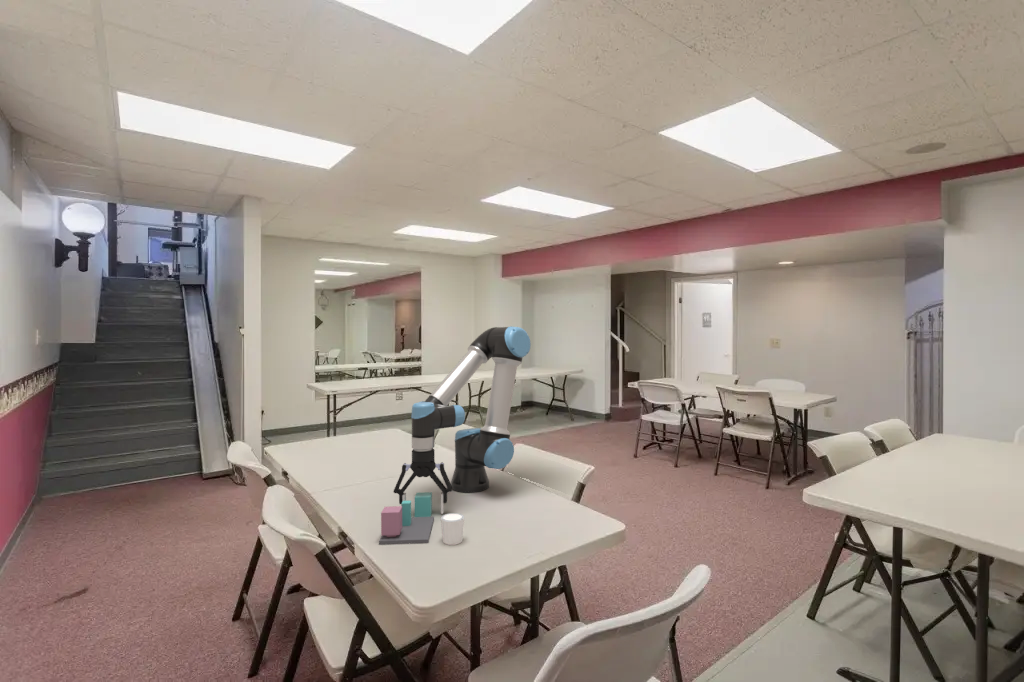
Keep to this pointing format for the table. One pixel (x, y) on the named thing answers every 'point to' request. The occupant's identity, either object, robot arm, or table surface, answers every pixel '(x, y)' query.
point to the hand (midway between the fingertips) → (423, 513)
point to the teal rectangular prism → (423, 504)
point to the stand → (404, 526)
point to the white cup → (452, 528)
